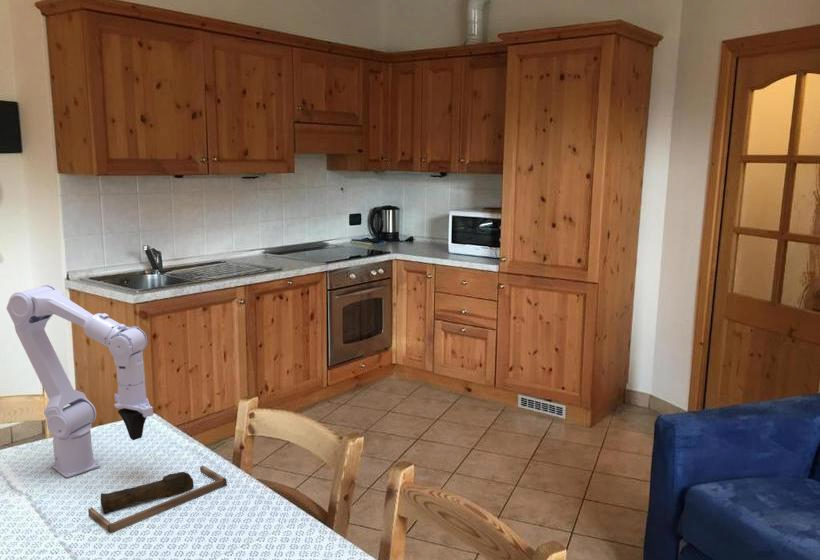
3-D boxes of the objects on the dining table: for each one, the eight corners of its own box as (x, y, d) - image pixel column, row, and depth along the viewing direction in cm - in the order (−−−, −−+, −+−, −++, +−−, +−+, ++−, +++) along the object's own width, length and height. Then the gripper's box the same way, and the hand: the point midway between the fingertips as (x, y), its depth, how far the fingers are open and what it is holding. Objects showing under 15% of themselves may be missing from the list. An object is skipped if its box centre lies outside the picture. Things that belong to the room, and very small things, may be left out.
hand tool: (102, 516, 141) (100, 496, 140) (100, 508, 145) (99, 487, 144) (196, 495, 150) (194, 475, 149) (192, 487, 154) (191, 468, 153)
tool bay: (88, 515, 141) (88, 509, 141) (203, 471, 160) (203, 465, 160) (109, 533, 135) (109, 526, 134) (226, 485, 154) (226, 478, 154)
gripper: (99, 378, 156) (104, 434, 158) (129, 394, 146) (134, 453, 149) (129, 371, 161) (134, 425, 163) (160, 385, 151) (164, 442, 154)
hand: (136, 438), depth 156 cm, fingers closed
